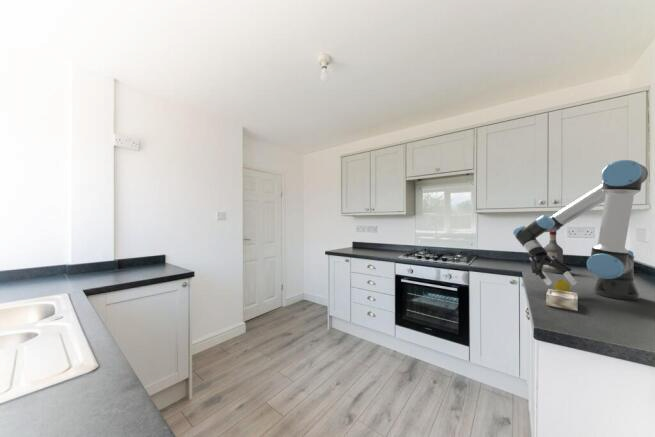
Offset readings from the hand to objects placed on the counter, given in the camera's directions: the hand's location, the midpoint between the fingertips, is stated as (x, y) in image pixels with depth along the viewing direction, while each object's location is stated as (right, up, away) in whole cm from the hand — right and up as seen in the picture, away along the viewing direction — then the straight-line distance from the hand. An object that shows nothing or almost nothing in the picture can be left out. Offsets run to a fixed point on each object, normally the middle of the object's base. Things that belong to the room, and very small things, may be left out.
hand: (562, 284), depth 127 cm
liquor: (+44, -6, +56) cm, 71 cm away
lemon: (0, -6, +1) cm, 6 cm away
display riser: (-12, -6, -13) cm, 18 cm away
